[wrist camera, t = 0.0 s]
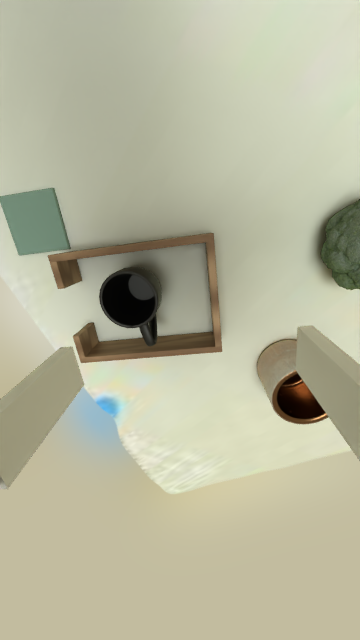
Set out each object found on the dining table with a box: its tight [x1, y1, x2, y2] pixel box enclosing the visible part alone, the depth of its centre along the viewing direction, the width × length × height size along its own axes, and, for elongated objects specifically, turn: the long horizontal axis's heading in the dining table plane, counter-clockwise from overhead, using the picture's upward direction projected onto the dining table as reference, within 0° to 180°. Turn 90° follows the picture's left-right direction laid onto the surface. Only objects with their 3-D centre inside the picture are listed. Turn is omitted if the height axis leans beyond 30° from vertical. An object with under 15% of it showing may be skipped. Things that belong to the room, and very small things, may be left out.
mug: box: [99, 267, 161, 346], centre depth 37 cm, size 8×12×10 cm
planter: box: [257, 340, 328, 424], centre depth 40 cm, size 11×11×10 cm
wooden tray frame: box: [48, 233, 222, 363], centre depth 39 cm, size 18×24×6 cm
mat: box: [0, 188, 71, 255], centre depth 39 cm, size 9×9×1 cm
